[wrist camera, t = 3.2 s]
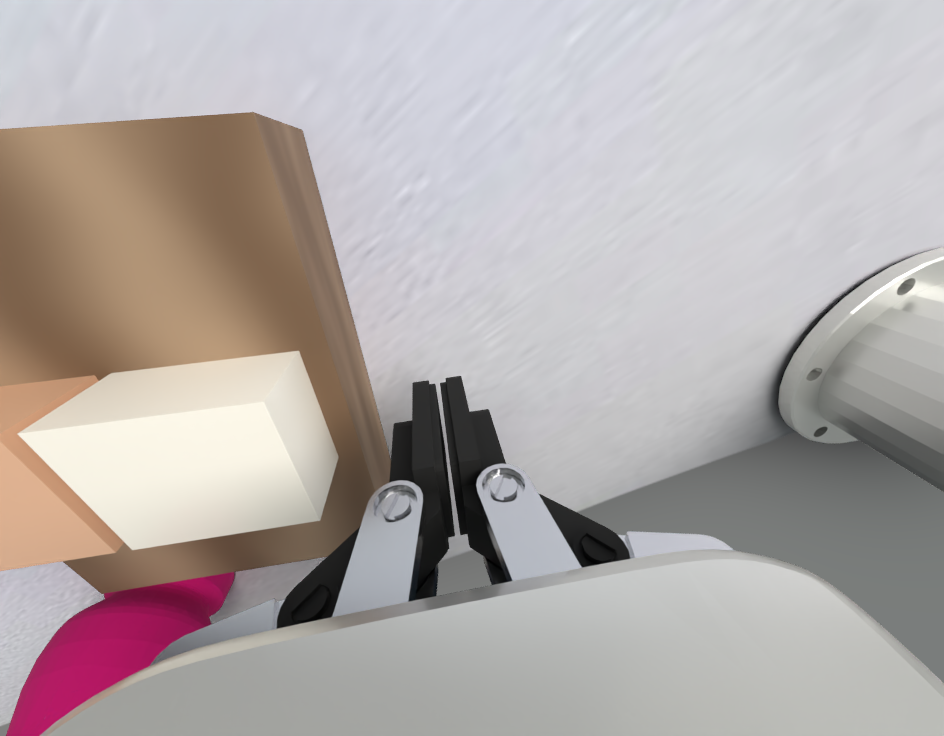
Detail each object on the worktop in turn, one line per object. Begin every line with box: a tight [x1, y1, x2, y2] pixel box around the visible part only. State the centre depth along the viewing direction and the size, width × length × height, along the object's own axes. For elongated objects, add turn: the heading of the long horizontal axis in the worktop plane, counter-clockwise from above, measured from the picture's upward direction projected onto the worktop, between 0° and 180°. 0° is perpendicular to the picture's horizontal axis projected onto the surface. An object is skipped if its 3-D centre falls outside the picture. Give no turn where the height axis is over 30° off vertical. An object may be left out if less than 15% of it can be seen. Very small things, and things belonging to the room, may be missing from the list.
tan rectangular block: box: [0, 375, 124, 571], centre depth 11 cm, size 6×5×3 cm
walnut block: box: [0, 112, 391, 594], centre depth 14 cm, size 14×18×4 cm
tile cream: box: [18, 351, 338, 550], centre depth 11 cm, size 6×5×3 cm
